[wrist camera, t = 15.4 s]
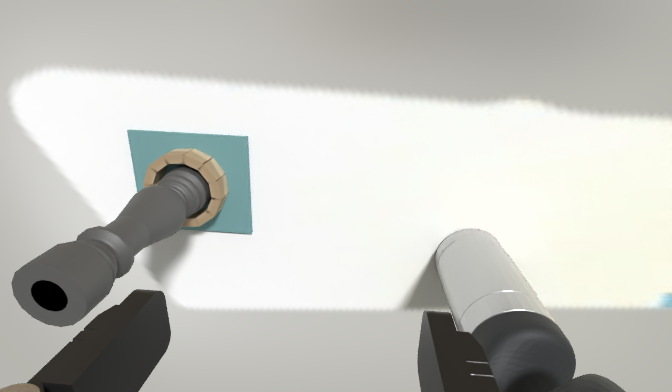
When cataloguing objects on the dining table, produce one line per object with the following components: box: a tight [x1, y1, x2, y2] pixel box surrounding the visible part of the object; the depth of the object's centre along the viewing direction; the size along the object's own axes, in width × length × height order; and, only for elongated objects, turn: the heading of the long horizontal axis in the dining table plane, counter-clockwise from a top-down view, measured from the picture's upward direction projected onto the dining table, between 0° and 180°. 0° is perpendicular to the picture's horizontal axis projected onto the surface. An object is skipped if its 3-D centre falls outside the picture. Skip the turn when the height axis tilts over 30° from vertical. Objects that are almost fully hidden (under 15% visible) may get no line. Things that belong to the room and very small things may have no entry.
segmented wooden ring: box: [143, 148, 229, 227], centre depth 49 cm, size 10×10×3 cm
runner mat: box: [127, 130, 252, 234], centre depth 51 cm, size 16×14×1 cm
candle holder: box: [12, 164, 212, 327], centre depth 39 cm, size 6×6×25 cm
